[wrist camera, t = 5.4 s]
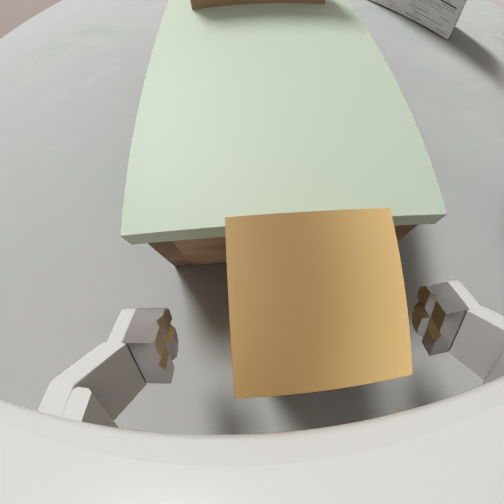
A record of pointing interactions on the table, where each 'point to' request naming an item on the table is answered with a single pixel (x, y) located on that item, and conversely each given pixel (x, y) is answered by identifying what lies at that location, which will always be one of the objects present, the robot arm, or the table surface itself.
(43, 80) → the table surface
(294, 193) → the lid
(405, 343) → the light wooden block
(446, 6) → the light bulb box
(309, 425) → the table surface
